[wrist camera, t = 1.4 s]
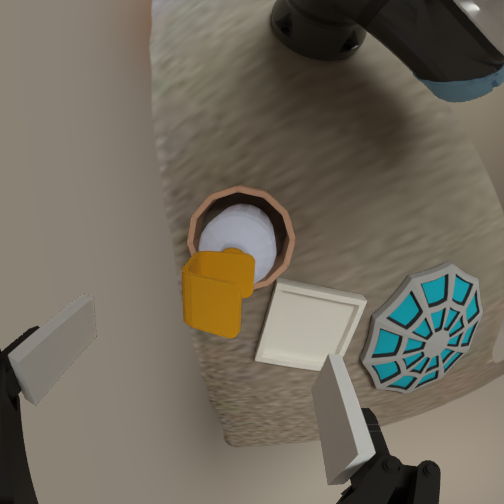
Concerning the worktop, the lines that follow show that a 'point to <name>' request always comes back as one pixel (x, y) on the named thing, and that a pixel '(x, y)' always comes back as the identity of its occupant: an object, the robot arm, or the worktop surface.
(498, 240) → the worktop surface
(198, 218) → the holder ring
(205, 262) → the soap bottle
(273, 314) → the tray
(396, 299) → the decorative platform
